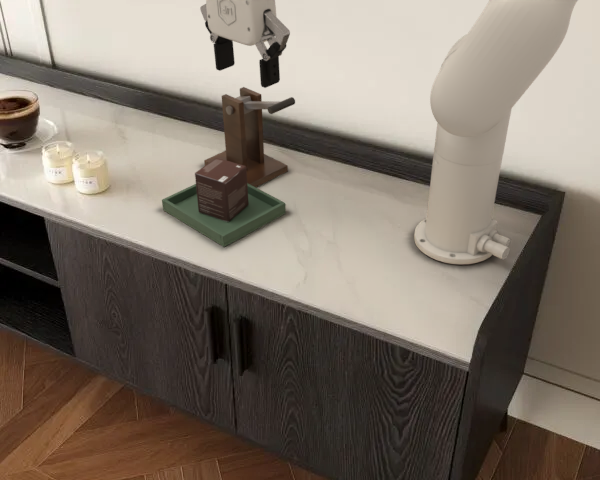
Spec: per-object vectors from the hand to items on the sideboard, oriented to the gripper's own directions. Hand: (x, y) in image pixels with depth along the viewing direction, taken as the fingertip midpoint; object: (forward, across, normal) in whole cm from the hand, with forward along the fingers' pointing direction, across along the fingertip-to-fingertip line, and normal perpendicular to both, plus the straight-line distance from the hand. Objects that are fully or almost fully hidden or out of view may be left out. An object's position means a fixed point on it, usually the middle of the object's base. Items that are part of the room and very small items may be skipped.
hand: (247, 75), depth 111 cm
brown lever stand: (+22, -11, +7) cm, 25 cm away
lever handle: (+10, -6, +7) cm, 14 cm away
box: (+22, -3, -5) cm, 23 cm away
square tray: (+22, -3, -5) cm, 23 cm away
